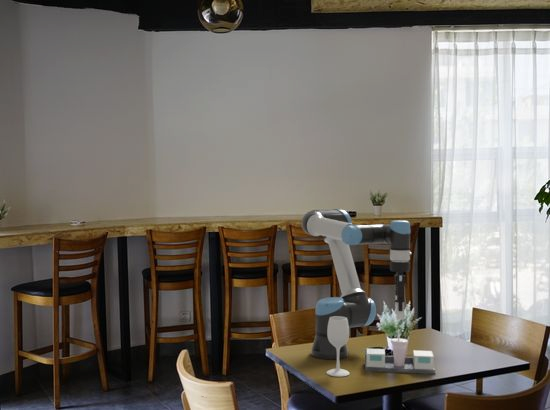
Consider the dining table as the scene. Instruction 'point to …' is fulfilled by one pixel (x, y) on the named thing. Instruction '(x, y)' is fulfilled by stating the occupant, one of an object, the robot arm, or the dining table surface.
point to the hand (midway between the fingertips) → (399, 315)
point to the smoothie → (399, 350)
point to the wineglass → (338, 340)
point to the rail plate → (399, 367)
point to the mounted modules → (419, 359)
